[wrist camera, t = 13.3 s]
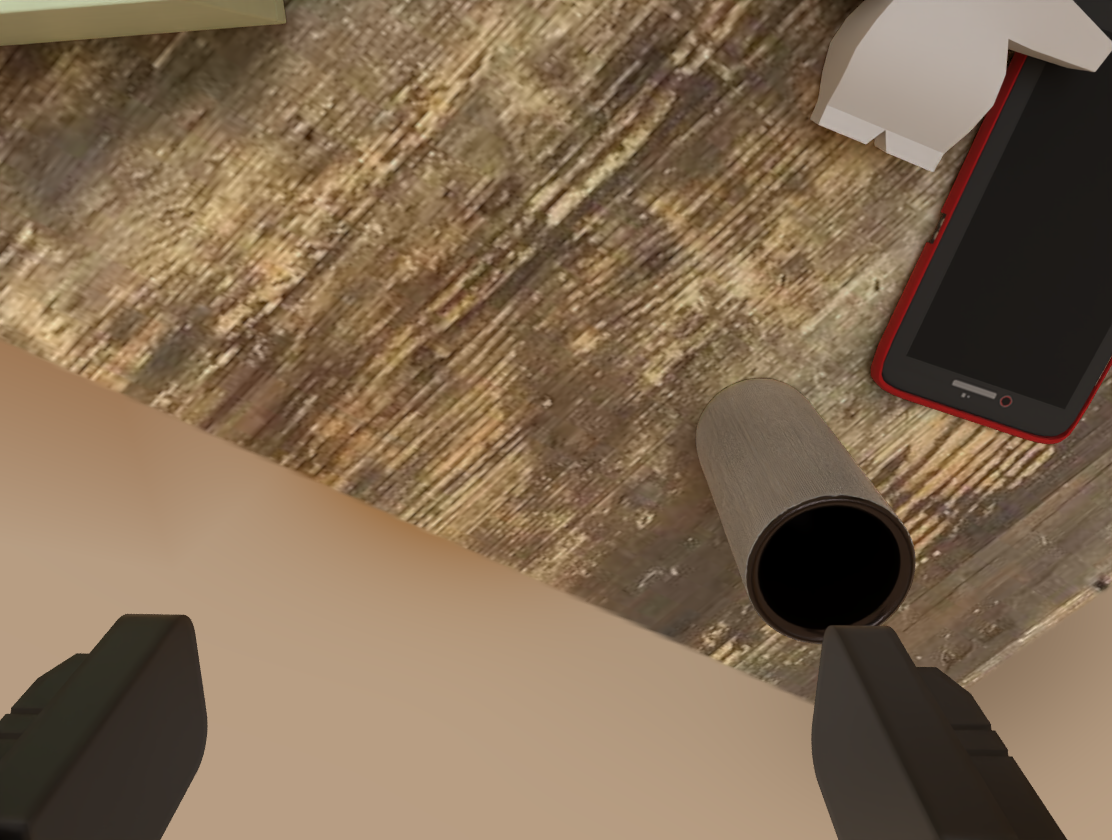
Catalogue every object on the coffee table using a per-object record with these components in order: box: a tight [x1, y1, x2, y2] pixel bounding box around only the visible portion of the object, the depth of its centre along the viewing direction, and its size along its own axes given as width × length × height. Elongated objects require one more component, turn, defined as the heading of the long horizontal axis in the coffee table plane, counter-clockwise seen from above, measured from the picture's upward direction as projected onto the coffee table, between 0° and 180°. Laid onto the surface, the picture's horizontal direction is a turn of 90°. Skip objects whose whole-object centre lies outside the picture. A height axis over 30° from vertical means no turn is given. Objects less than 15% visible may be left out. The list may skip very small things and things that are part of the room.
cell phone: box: [871, 0, 1112, 444], centre depth 31 cm, size 8×15×1 cm, turn 161°
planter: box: [696, 378, 915, 644], centre depth 30 cm, size 4×4×10 cm
